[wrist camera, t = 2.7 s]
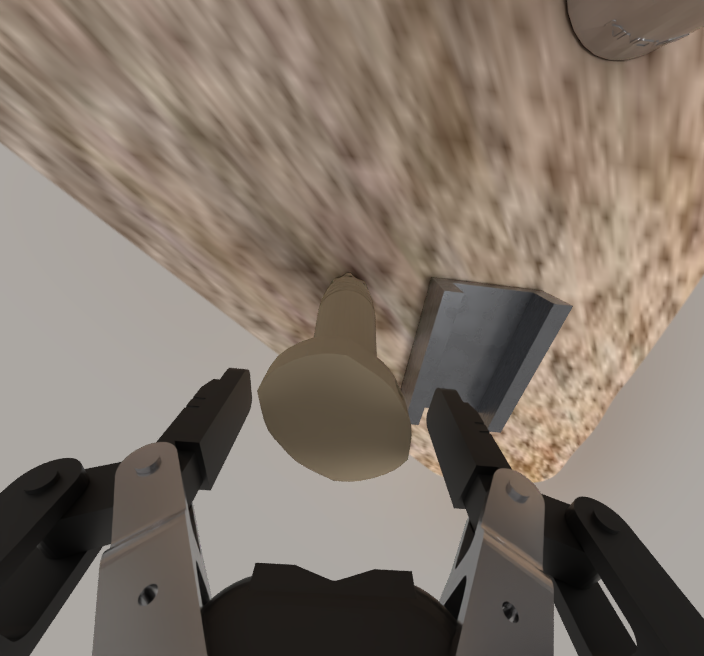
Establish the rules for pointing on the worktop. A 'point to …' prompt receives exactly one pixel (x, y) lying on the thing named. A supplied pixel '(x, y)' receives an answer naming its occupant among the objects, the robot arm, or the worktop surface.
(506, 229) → the worktop surface
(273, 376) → the handle
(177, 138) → the worktop surface
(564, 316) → the floor track
